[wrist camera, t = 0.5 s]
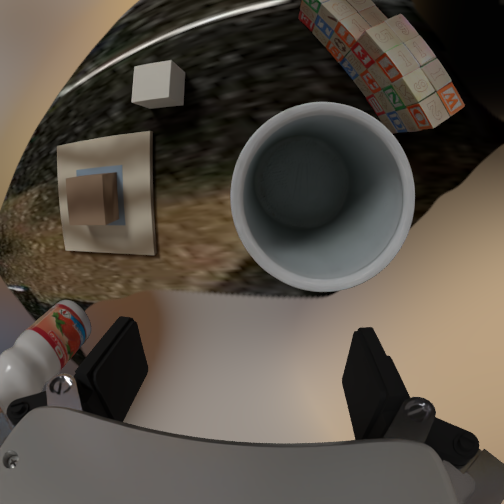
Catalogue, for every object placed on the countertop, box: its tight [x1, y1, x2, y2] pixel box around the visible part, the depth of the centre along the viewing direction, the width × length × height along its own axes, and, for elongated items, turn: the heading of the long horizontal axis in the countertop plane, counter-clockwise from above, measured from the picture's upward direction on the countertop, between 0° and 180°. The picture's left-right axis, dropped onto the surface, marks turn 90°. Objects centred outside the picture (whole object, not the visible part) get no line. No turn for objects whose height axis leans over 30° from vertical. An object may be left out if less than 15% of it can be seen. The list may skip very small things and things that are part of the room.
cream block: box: [132, 60, 185, 109], centre depth 30 cm, size 5×5×6 cm
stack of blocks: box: [299, 0, 465, 134], centre depth 24 cm, size 21×6×12 cm, turn 37°
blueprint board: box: [57, 131, 157, 255], centre depth 38 cm, size 18×18×1 cm
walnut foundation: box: [66, 172, 119, 225], centre depth 36 cm, size 7×7×4 cm
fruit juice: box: [0, 300, 91, 414], centre depth 34 cm, size 9×9×28 cm
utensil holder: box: [230, 102, 415, 292], centre depth 28 cm, size 15×15×18 cm
